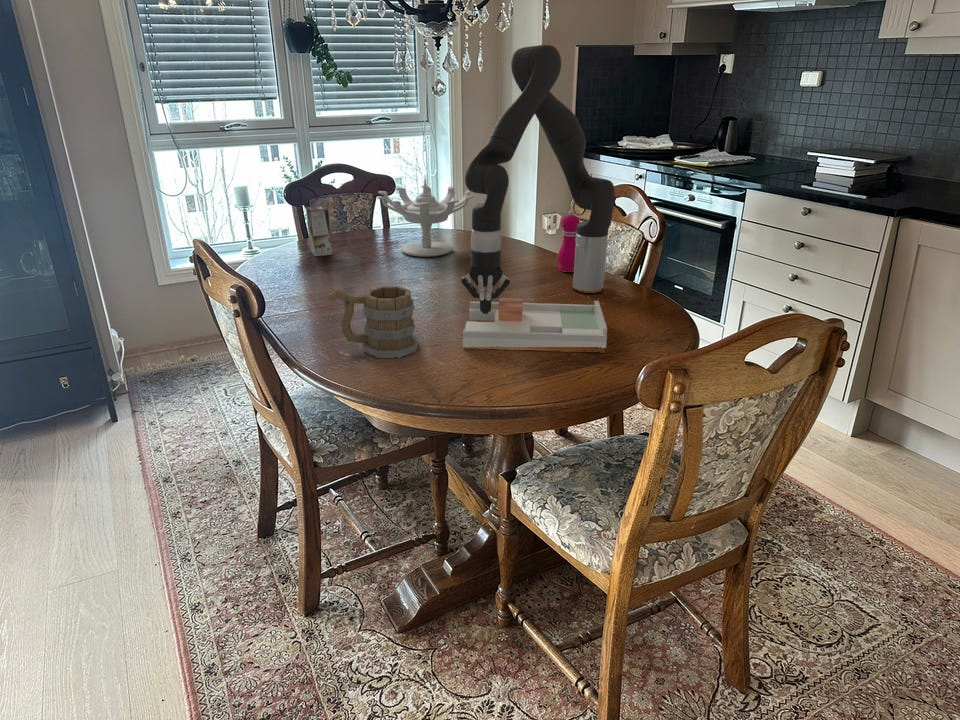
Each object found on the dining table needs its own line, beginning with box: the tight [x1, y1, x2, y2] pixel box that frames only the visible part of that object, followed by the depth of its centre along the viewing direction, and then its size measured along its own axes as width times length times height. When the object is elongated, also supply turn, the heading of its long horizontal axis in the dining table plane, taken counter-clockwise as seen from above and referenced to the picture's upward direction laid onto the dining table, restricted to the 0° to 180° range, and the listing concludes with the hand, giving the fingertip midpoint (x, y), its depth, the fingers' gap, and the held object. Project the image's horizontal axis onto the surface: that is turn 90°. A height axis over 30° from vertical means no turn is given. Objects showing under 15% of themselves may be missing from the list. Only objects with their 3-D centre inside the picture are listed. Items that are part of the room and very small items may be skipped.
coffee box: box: [305, 205, 333, 257], centre depth 234 cm, size 9×6×16 cm
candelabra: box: [377, 177, 475, 258], centre depth 234 cm, size 34×35×27 cm
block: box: [498, 297, 524, 321], centre depth 169 cm, size 6×6×4 cm
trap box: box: [462, 300, 608, 349], centre depth 165 cm, size 22×34×6 cm, turn 86°
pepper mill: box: [557, 210, 581, 271], centre depth 215 cm, size 7×7×20 cm
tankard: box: [328, 285, 419, 359], centre depth 155 cm, size 20×13×15 cm, turn 92°
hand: (485, 312), depth 170 cm, fingers closed
